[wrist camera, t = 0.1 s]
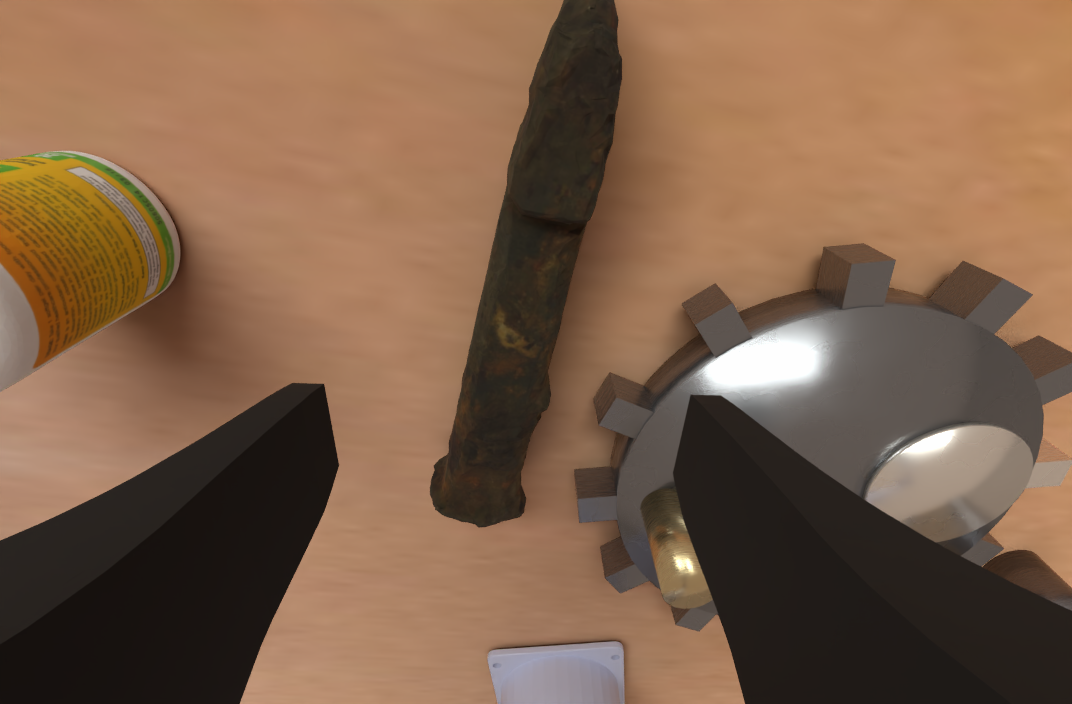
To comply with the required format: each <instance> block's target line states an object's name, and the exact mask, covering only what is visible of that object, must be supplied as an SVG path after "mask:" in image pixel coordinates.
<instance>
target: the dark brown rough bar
mask: <svg viewBox="0 0 1072 704" xmlns="http://www.w3.org/2000/svg"><path fill="white" fill-rule="evenodd" d="M617 27H618V16H617V12H616V7H615V3H614V0H564V1H563V4H562V7H561V10H560V12H559V15H558V18H557V19H556V21H555V23H554V24H553V26H552V28H551V30H550V33H549V35H548V38H547V41H546V44H545V47H544V50H543V52H542V55H541V57H540V59H539V62H538V64H537V67H536V70H535V73H534V77H533V80H532V83H531V85H530V87H529V106H528V109H527V112H526V115H525V117H524V120H523V122H522V124H521V125H520V128H519V132H518V135H517V139H516V142H515V145H514V147H513V151H512V154H511V158H510V162H509V165H508V173H507V187H506V192H505V196H504V200H503V204H502V208H501V212H500V216H499V220H498V224H497V229H496V233H495V238H494V242H493V246H492V251H491V256H490V260H489V265H488V270H487V274H486V278H485V283H484V287H483V292H482V296H481V300H480V304H479V308H478V313H477V317H476V322H475V327H474V332H473V337H472V341H471V345H470V349H469V354H468V359H467V364H466V368H465V371H464V373H463V378H462V388H461V393H460V397H459V400H458V405H457V414H456V417H455V421H454V425H453V430H452V434H451V436H450V440H449V453H448V455H446V456H444V457H443V458H441V459H439V460H438V462H437V463H436V464H435V465H434V469H435V471H434V474H433V476H432V479H431V485H430V495H431V498H432V500H433V505H434V507H435V510H437V511H438V512H439V513H441V514H442V515H444V516H446V517H449V518H453V519H456V520H459V521H461V522H469V523H472V524H476V525H477V526H478V527H487V526H490V525H494V524H497V523H500V522H502V521H506V520H510V519H514V518H517V517H520V516H521V515H522V514H523V513H524V507H525V503H526V497H525V494H524V491H523V489H522V486H521V470H522V468H523V465H524V460H525V457H526V451H527V448H528V444H529V441H530V436H531V434H532V432H533V430H534V428H535V426H536V424H537V423H538V421H539V419H540V418H541V412H543V411H545V410H547V408H548V406H549V403H550V396H551V392H550V384H549V376H548V368H549V364H550V360H551V356H552V353H553V349H554V346H555V343H556V339H557V336H558V332H559V329H560V324H561V318H562V313H563V310H564V306H565V302H566V297H567V293H568V289H569V284H570V280H571V277H572V273H573V270H574V266H575V263H576V259H577V255H578V252H579V248H580V244H581V241H582V237H583V234H584V230H585V227H586V224H587V221H588V220H590V218H591V216H592V213H593V211H594V208H595V206H596V201H597V196H598V192H599V190H600V187H601V184H602V181H603V177H604V171H605V163H606V160H607V157H608V154H609V151H610V148H611V145H612V142H613V133H614V123H615V113H616V109H617V106H618V99H619V91H620V85H621V80H622V58H621V56H620V54H619V50H618V45H617Z"/></svg>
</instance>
